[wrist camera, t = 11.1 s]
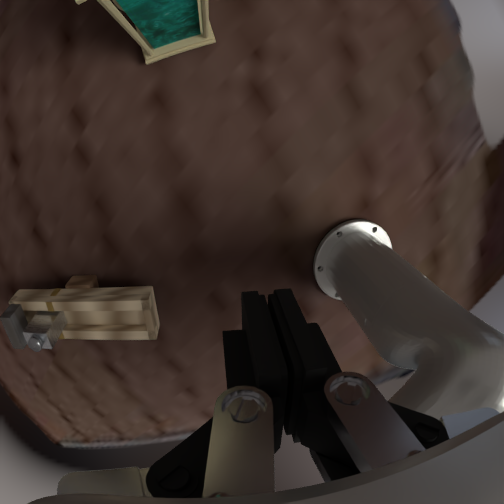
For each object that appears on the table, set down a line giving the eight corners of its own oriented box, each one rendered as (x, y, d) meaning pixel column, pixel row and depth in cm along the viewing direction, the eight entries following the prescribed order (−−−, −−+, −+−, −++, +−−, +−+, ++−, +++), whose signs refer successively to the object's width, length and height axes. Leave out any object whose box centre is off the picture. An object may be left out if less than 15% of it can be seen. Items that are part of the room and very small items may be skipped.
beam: (155, 271, 41) (142, 313, 32) (162, 314, 44) (154, 360, 34) (26, 277, 38) (-5, 311, 29) (39, 315, 41) (14, 352, 32)
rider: (62, 308, 35) (43, 338, 29) (67, 322, 36) (49, 354, 30) (40, 307, 35) (19, 337, 29) (45, 321, 36) (26, 351, 30)
